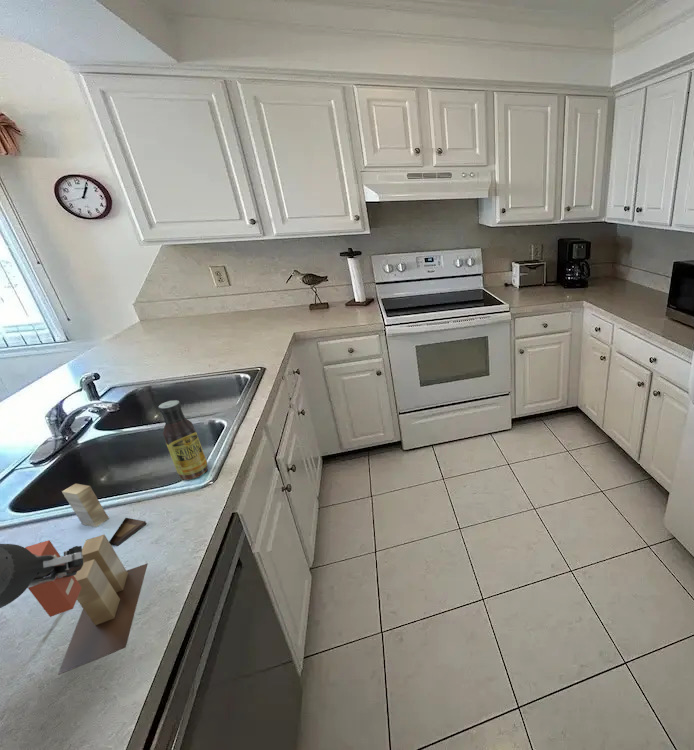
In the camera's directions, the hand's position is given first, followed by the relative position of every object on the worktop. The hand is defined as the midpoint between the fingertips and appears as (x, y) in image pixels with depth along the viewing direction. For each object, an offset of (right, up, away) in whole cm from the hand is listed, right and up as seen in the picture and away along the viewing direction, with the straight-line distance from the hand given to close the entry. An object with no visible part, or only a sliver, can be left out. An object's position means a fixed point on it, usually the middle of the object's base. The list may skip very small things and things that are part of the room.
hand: (58, 572), depth 60 cm
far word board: (-18, -4, +27) cm, 33 cm away
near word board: (-2, -12, +10) cm, 15 cm away
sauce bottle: (-12, +4, +44) cm, 45 cm away
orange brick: (+1, -4, 0) cm, 4 cm away
